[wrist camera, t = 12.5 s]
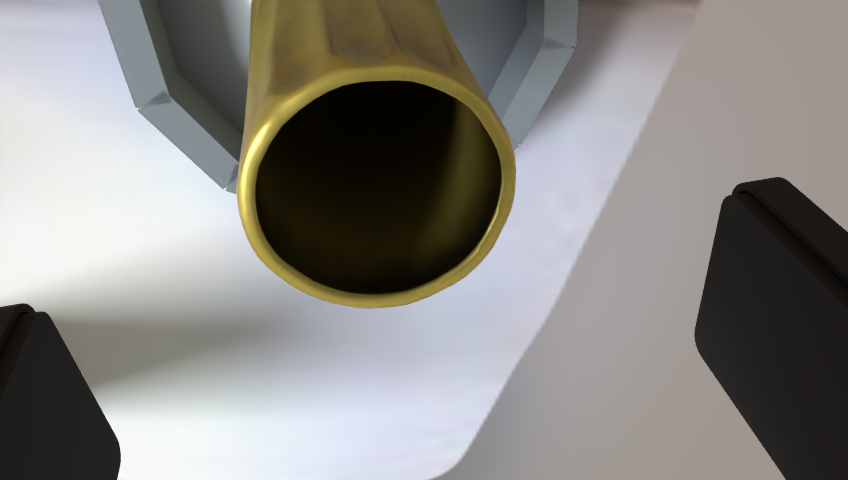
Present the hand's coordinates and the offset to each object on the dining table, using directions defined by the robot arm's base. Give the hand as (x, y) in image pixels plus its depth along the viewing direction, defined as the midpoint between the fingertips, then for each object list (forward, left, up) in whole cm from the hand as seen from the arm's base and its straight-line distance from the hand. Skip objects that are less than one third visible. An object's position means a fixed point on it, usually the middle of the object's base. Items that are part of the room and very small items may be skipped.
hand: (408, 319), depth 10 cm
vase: (0, 0, -18) cm, 18 cm away
